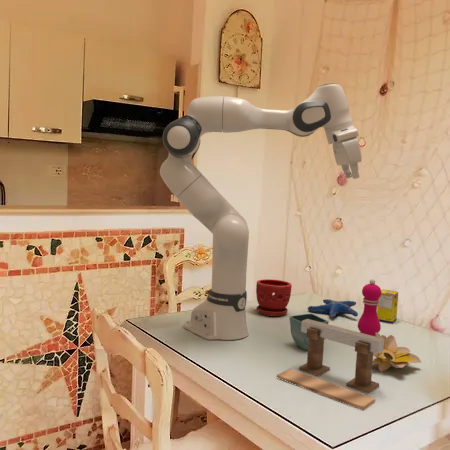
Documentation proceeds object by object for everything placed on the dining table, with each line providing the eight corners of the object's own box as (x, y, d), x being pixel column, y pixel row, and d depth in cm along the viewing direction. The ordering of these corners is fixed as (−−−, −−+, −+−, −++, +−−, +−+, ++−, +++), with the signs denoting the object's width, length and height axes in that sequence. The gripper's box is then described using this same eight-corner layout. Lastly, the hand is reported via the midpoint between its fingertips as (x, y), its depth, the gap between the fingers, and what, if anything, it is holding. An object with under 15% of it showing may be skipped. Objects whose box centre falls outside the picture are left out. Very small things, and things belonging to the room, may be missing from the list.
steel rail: (301, 331, 134) (301, 320, 134) (306, 329, 137) (307, 318, 136) (378, 353, 120) (379, 341, 120) (383, 350, 122) (384, 339, 122)
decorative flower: (394, 376, 127) (391, 337, 129) (359, 371, 136) (356, 334, 138) (427, 369, 136) (424, 332, 137) (392, 365, 145) (390, 330, 146)
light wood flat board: (276, 377, 128) (276, 374, 127) (289, 371, 132) (289, 368, 132) (363, 410, 112) (363, 406, 112) (374, 401, 116) (375, 398, 116)
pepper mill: (380, 344, 157) (385, 282, 154) (357, 342, 158) (361, 280, 156) (378, 337, 164) (383, 278, 161) (355, 335, 165) (360, 276, 163)
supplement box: (396, 320, 185) (398, 291, 183) (392, 324, 179) (394, 294, 178) (380, 317, 188) (382, 288, 186) (376, 320, 183) (378, 291, 181)
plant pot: (291, 318, 180) (293, 286, 179) (255, 317, 181) (257, 285, 179) (287, 309, 193) (289, 278, 192) (254, 307, 194) (255, 277, 192)
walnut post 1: (298, 369, 134) (301, 327, 132) (310, 363, 138) (313, 322, 137) (318, 376, 130) (321, 332, 128) (329, 370, 134) (332, 327, 133)
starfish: (307, 305, 200) (307, 293, 199) (354, 309, 197) (355, 297, 197) (308, 319, 181) (309, 305, 181) (360, 323, 179) (361, 309, 178)
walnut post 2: (346, 386, 124) (349, 340, 123) (357, 379, 129) (360, 335, 128) (368, 393, 121) (372, 347, 119) (378, 386, 125) (382, 341, 124)
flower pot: (304, 353, 146) (305, 324, 145) (287, 344, 153) (288, 315, 152) (327, 350, 150) (329, 321, 149) (309, 340, 158) (311, 313, 157)
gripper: (325, 140, 164) (336, 180, 165) (338, 135, 144) (350, 181, 145) (343, 134, 164) (354, 175, 165) (359, 129, 143) (371, 175, 145)
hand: (352, 178), depth 155 cm, fingers open, 8 cm apart
